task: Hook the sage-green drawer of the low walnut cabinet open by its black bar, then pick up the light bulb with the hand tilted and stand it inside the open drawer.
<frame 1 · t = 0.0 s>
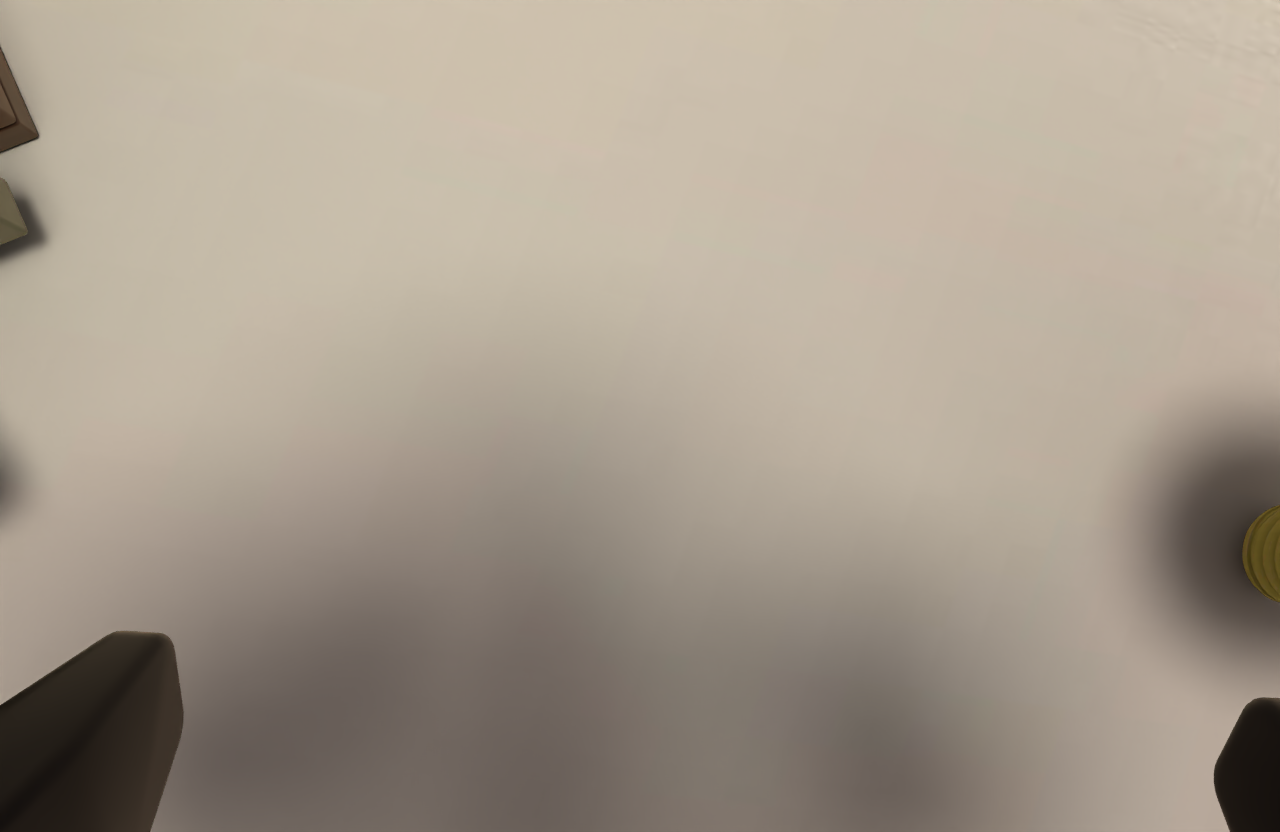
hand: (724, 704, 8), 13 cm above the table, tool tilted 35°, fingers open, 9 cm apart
light bulb: (1260, 553, 23), on the table
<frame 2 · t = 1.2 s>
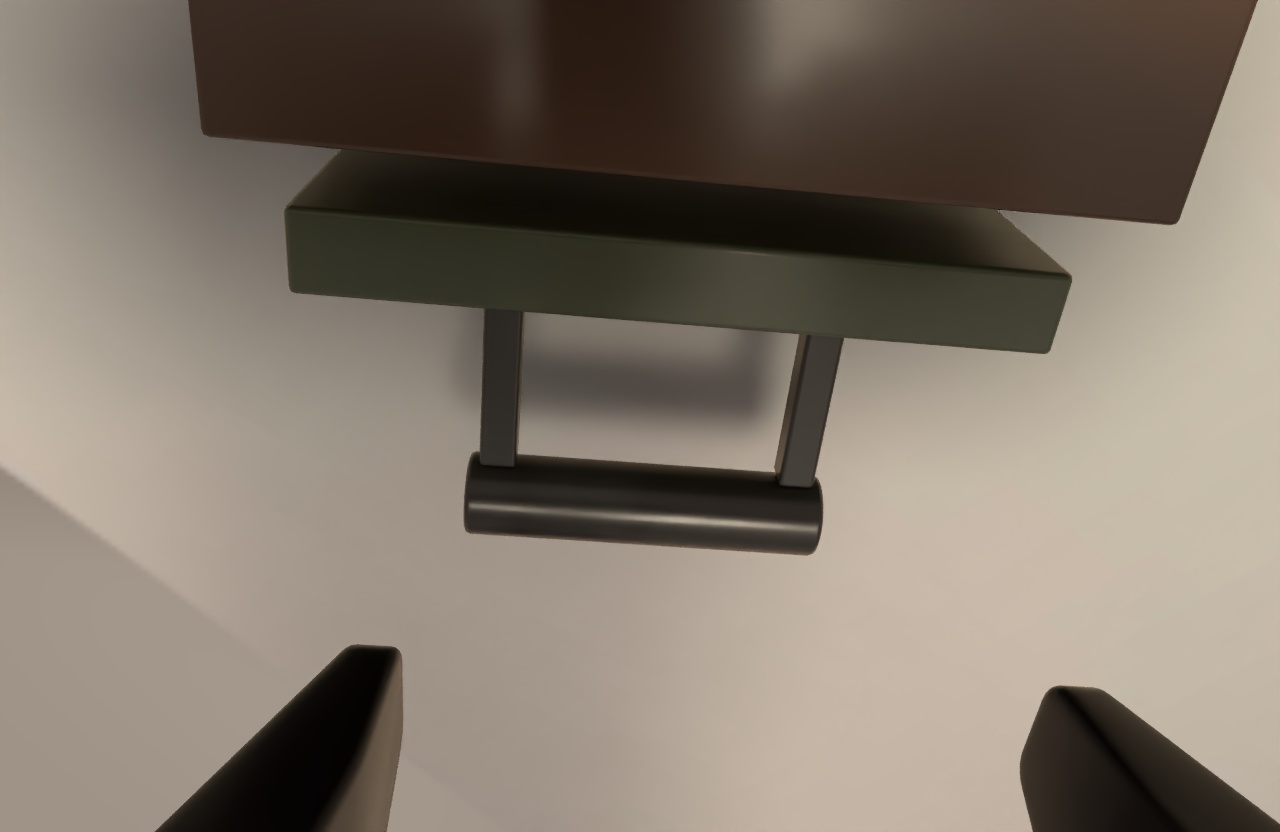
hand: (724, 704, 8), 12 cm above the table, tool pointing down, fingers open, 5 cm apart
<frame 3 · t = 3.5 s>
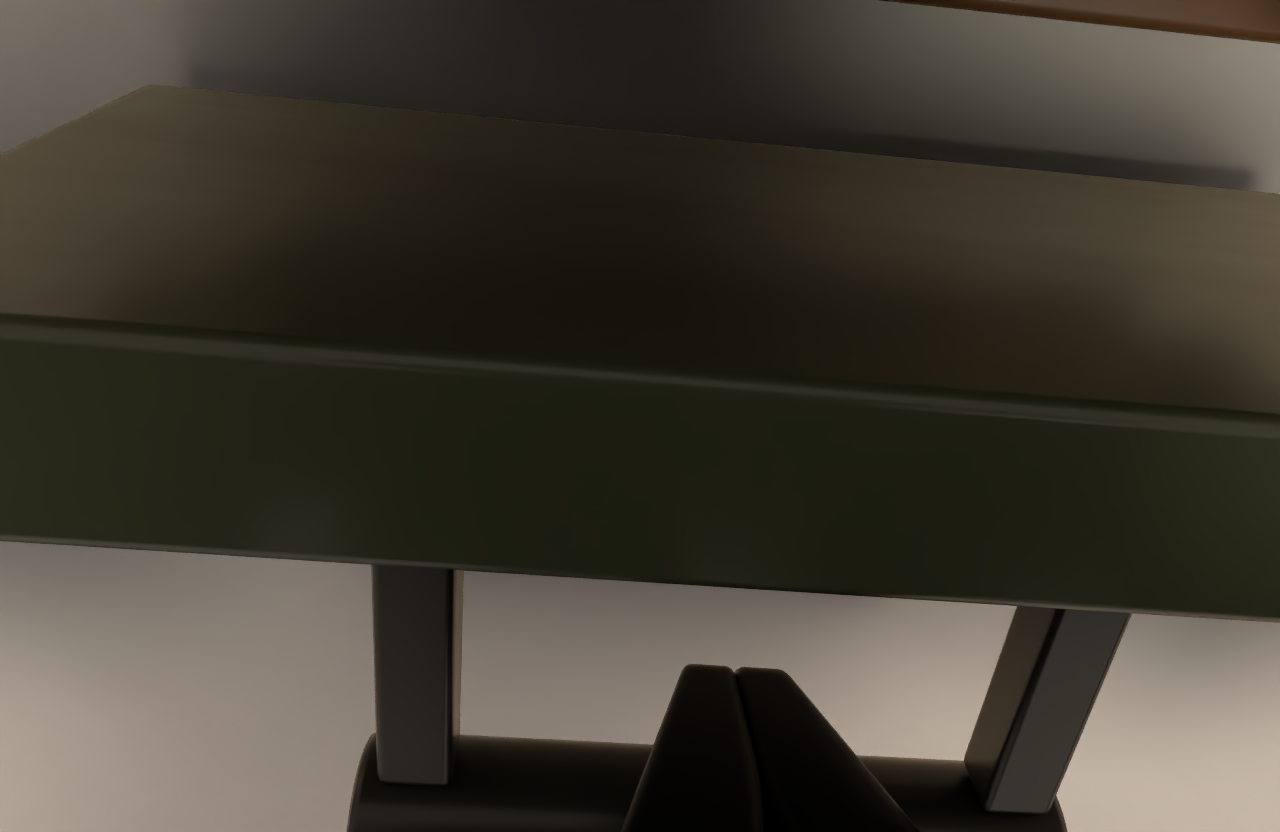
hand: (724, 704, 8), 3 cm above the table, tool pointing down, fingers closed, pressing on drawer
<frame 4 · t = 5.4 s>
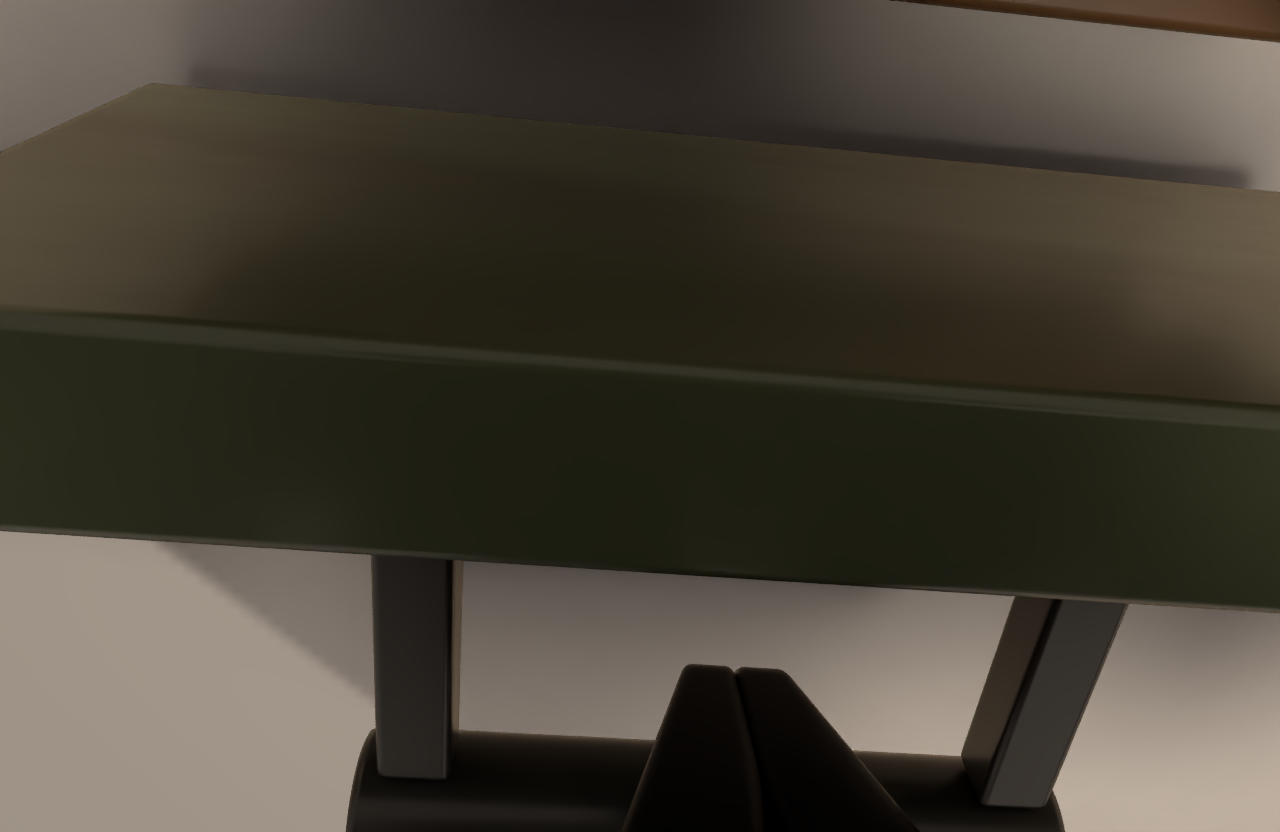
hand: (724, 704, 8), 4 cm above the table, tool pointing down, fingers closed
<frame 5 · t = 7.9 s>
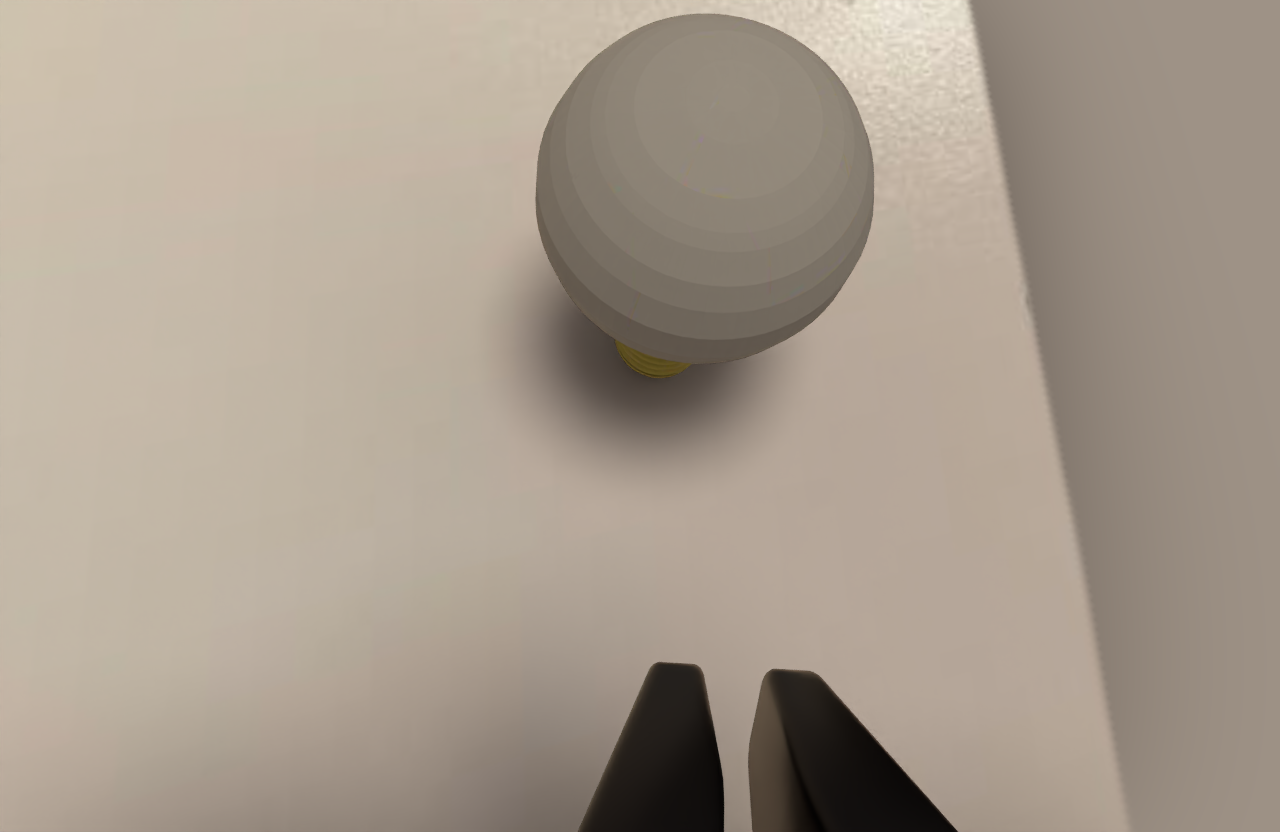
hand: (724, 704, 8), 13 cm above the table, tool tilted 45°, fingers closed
light bulb: (654, 347, 24), on the table
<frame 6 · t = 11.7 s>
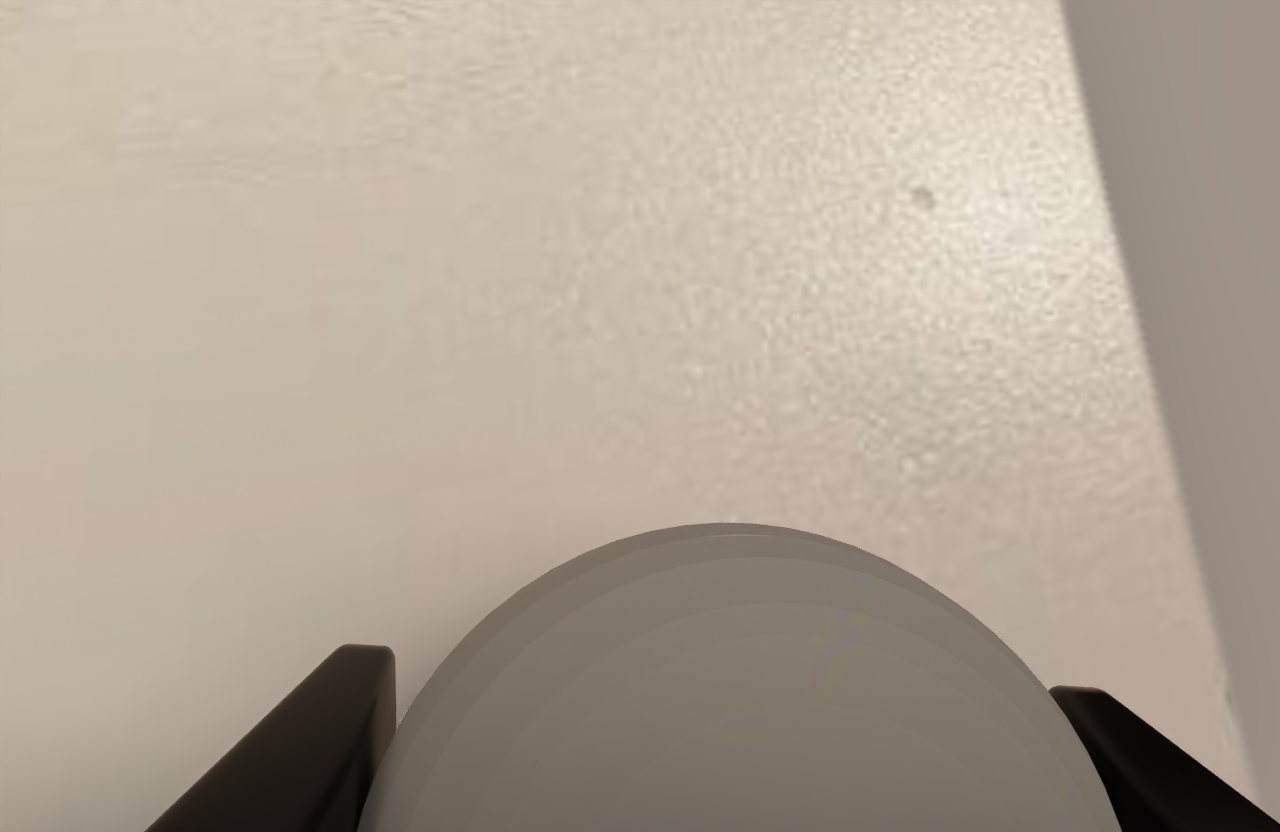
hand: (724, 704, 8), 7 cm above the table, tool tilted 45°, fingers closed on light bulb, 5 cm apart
light bulb: (637, 811, 15), on the table, touching gripper
when the fingers open (9 cm above the table, at t = 20.0 s): light bulb stays where it is, resting on drawer.
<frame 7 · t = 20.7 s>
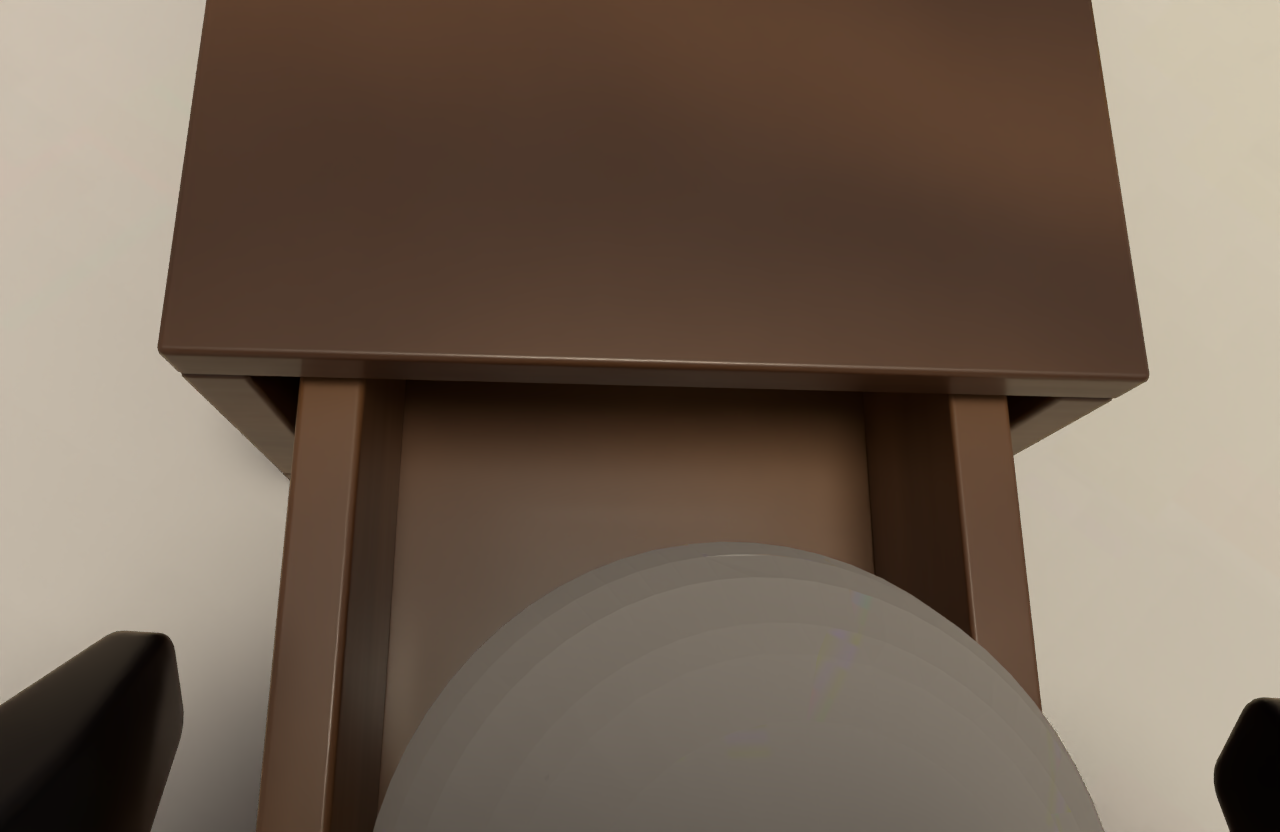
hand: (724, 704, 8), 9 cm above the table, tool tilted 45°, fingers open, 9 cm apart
cabinet: (628, 129, 20), on the table
light bulb: (636, 819, 15), point 2 cm above the table, touching drawer
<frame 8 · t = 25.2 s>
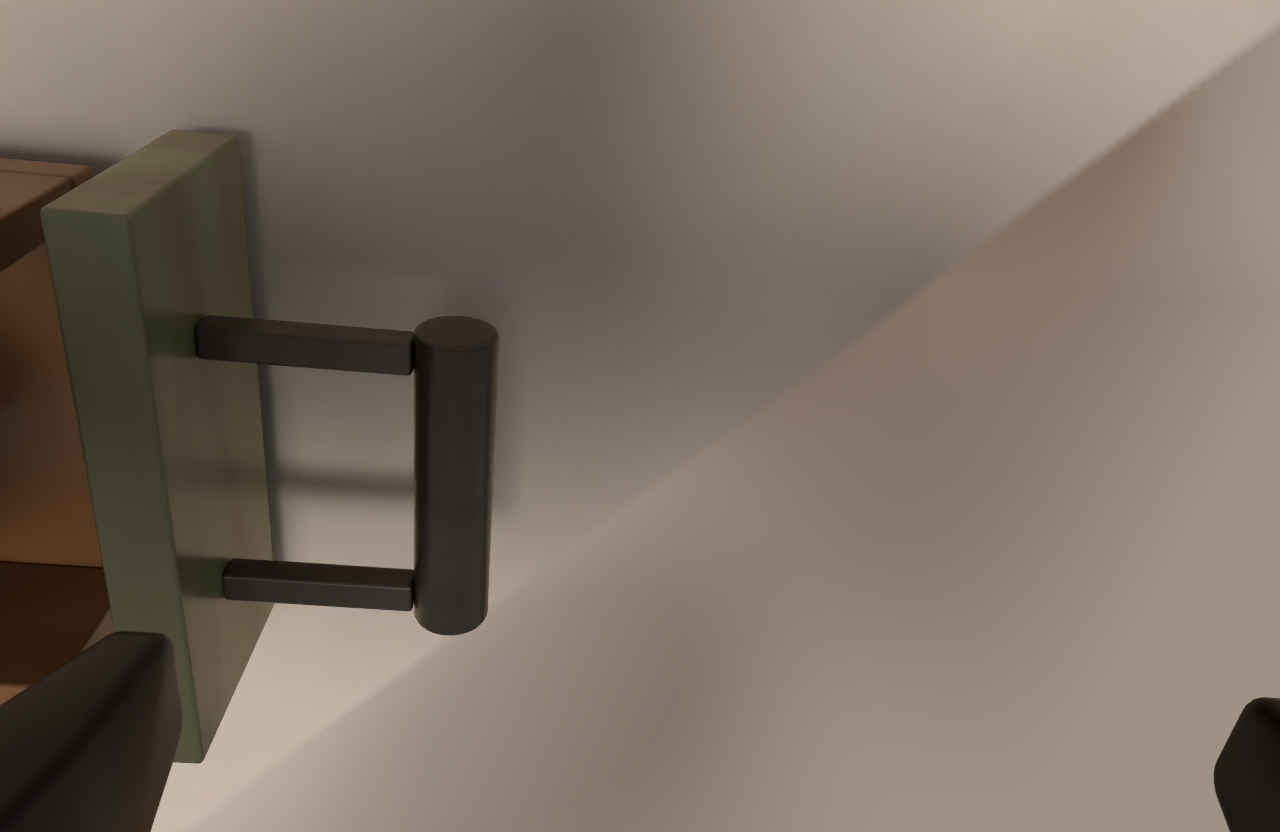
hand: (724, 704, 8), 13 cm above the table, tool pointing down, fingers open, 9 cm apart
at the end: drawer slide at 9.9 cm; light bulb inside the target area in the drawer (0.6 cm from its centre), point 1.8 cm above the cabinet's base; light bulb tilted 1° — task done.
